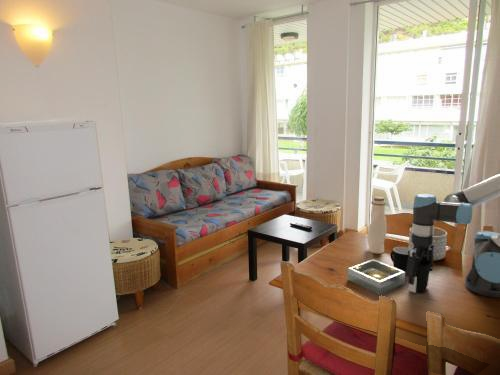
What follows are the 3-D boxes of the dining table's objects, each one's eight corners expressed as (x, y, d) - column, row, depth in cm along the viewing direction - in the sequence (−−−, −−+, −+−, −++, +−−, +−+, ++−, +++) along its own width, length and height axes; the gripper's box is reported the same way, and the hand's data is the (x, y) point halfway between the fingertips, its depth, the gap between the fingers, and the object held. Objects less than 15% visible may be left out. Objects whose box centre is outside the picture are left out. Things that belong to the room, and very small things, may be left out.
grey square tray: (404, 284, 152) (405, 271, 150) (379, 295, 143) (380, 282, 142) (372, 270, 165) (373, 259, 164) (347, 280, 156) (348, 268, 155)
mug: (418, 274, 160) (419, 252, 158) (402, 277, 157) (403, 255, 155) (398, 263, 171) (399, 243, 169) (382, 267, 168) (383, 246, 166)
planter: (423, 264, 170) (425, 238, 168) (400, 251, 186) (402, 227, 183) (452, 260, 174) (455, 234, 171) (428, 247, 190) (430, 224, 187)
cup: (418, 296, 142) (421, 267, 139) (403, 287, 149) (405, 259, 146) (433, 291, 145) (435, 263, 142) (417, 283, 152) (419, 256, 149)
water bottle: (362, 247, 193) (365, 195, 187) (379, 246, 194) (382, 194, 188) (371, 254, 183) (374, 200, 177) (388, 253, 184) (391, 199, 178)
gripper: (428, 226, 150) (424, 277, 155) (397, 236, 139) (394, 291, 144) (446, 231, 144) (441, 284, 149) (415, 242, 133) (411, 299, 138)
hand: (418, 288), depth 146 cm, fingers closed on cup, 8 cm apart
